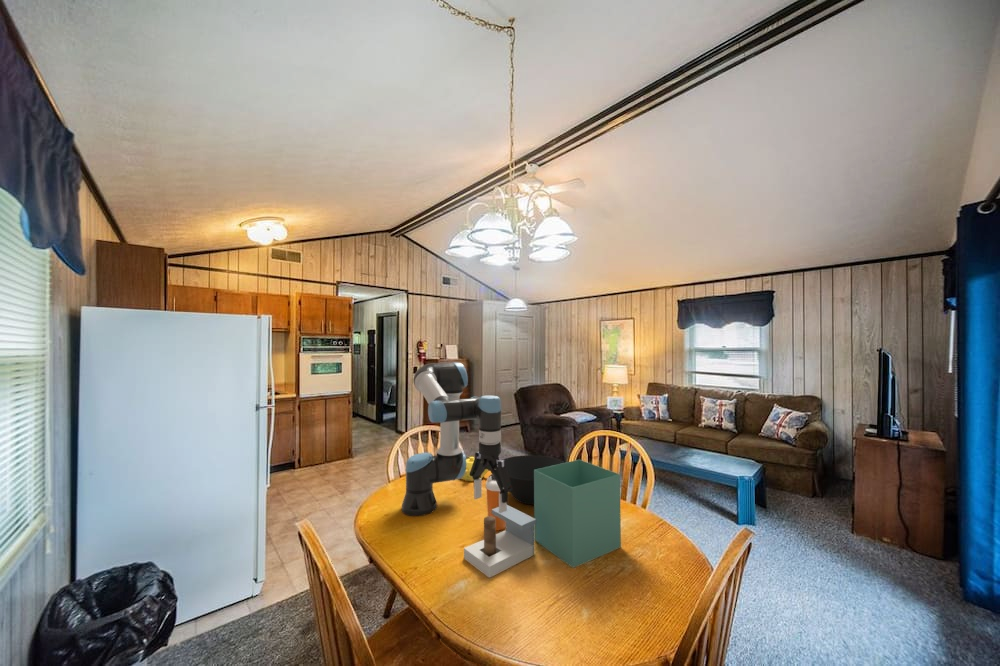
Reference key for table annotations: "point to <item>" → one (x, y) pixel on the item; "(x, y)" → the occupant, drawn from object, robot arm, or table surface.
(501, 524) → the shaker bottle
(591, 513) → the box
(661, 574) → the table surface
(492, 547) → the peg
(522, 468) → the bowl
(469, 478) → the teapot
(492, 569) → the socket station
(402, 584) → the table surface
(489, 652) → the table surface
